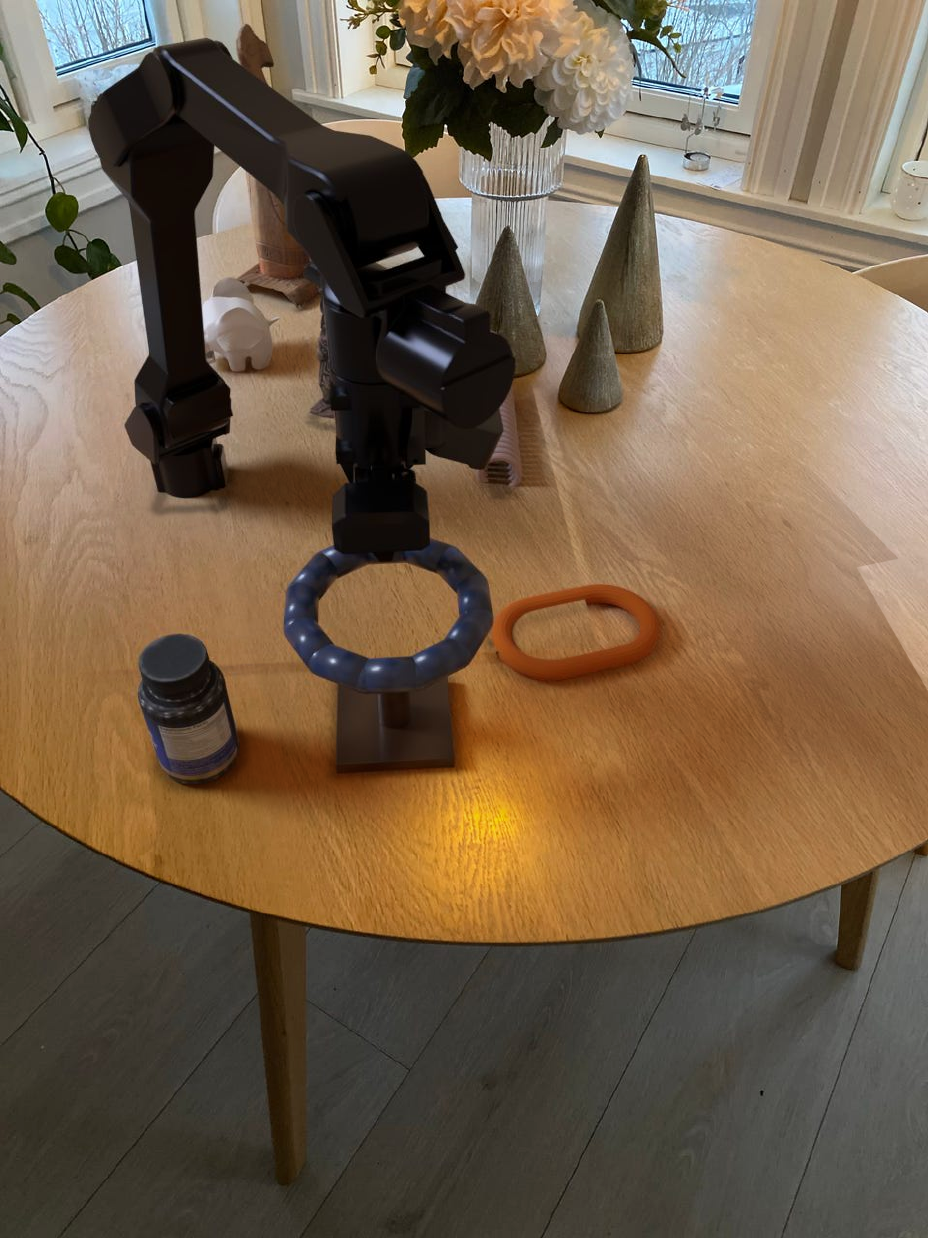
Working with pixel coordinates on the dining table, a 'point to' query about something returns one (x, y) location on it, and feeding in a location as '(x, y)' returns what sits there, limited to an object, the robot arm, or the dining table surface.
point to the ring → (388, 670)
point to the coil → (507, 443)
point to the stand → (394, 730)
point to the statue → (323, 370)
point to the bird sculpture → (271, 207)
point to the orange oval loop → (584, 661)
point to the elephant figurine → (236, 326)
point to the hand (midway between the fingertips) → (385, 549)
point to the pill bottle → (187, 709)
